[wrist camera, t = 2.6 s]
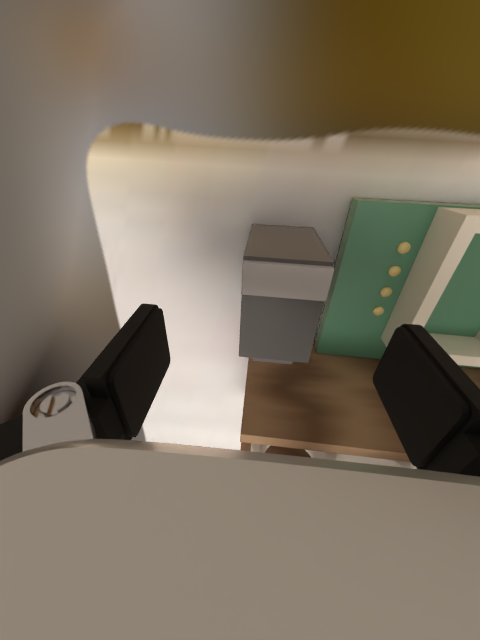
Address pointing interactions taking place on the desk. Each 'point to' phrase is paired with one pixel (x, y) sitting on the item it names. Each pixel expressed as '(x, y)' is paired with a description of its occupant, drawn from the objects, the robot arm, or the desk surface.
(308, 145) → the desk surface
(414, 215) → the board
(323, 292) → the plug
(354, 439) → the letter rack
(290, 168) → the desk surface
